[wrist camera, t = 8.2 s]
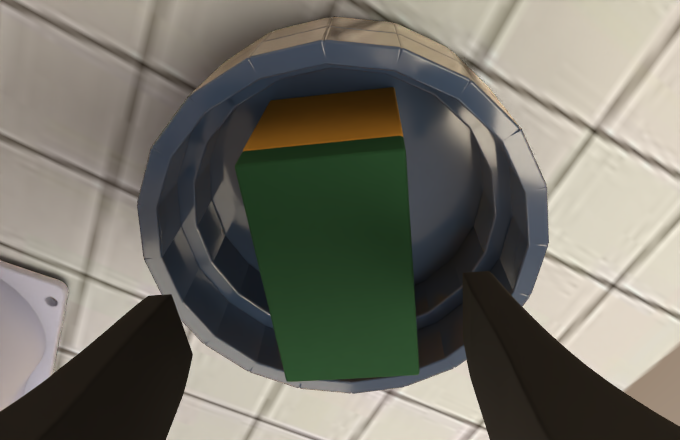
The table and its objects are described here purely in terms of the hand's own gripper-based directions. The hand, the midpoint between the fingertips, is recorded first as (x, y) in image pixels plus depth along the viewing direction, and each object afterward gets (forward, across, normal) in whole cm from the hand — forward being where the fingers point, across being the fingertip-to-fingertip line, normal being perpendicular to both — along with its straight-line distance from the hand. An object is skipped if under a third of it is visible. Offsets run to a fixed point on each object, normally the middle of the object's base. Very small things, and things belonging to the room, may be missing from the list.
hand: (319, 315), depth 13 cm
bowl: (+8, 0, 0) cm, 8 cm away
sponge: (+7, 0, 0) cm, 7 cm away
